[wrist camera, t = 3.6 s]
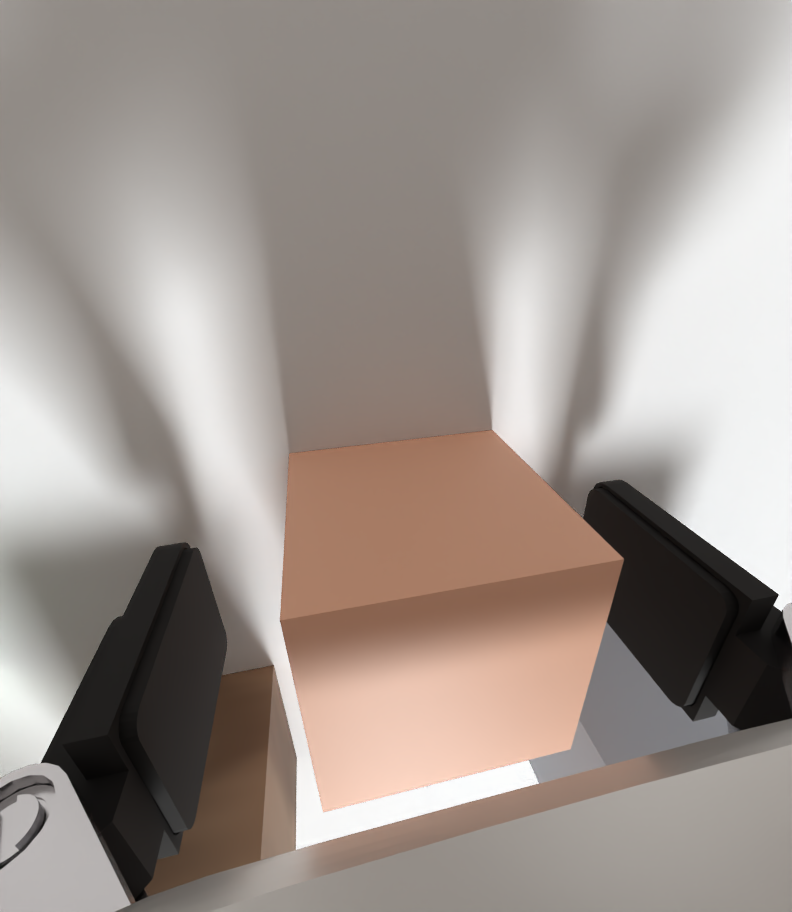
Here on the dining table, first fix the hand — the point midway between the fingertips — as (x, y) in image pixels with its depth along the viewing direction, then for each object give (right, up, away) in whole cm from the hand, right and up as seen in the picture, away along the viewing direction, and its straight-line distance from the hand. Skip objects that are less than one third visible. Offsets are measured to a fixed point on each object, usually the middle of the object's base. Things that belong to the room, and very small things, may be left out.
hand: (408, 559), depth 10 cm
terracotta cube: (0, +1, +1) cm, 2 cm away
